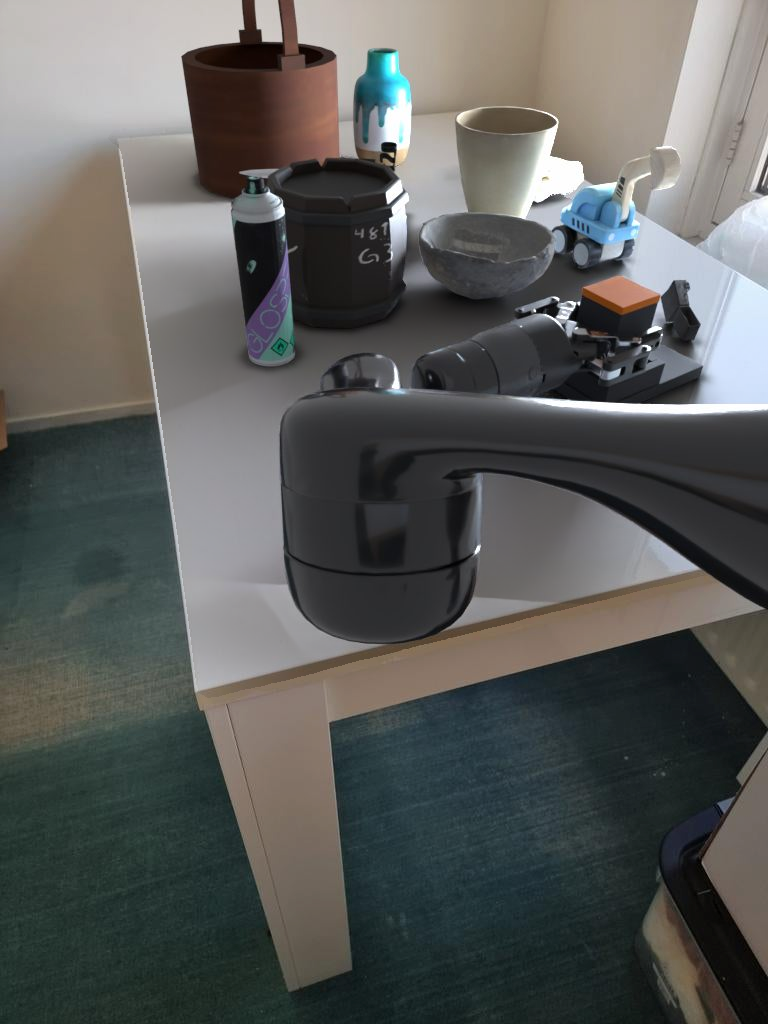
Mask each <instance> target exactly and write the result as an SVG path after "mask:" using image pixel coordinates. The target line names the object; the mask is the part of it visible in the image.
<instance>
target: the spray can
mask: <svg viewBox="0 0 768 1024" xmlns="http://www.w3.org/2000/svg"><path fill="white" fill-rule="evenodd" d="M246 183H247V185H246V186H245V188H244V189H243V190H242V194H241V195H240V196H238V197H237V198H233V199H232V200H231V202H230V206H231V210H230V215H231V223H232V232H233V240H234V241H233V242H234V248H235V257H236V264H237V271H238V281H239V288H240V289H239V290H240V297H241V305H242V313H243V321H244V328H245V329H244V330H245V336H246V337H245V338H246V344H247V345H246V346H247V354H248V358H249V360H250V362H252V363H253V364H256V365H258V366H260V367H279V366H282V365H286V364H288V363H290V362H291V361H292V360H293V359H294V358H295V356H296V342H295V332H294V331H295V330H294V329H295V328H294V319H293V315H292V302H291V289H290V276H289V263H288V250H287V237H286V224H285V211H284V207H283V200H282V199H281V198H280V197H278V196H275V195H274V194H272V193H270V190H269V188H267V187H266V185H264V180H263V177H260V178H257V177H251V176H248V177H246Z"/></svg>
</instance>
